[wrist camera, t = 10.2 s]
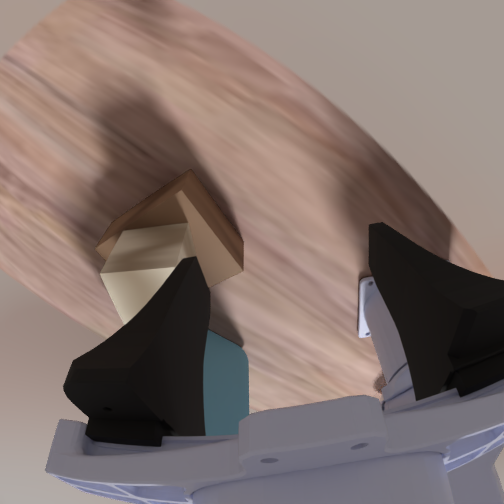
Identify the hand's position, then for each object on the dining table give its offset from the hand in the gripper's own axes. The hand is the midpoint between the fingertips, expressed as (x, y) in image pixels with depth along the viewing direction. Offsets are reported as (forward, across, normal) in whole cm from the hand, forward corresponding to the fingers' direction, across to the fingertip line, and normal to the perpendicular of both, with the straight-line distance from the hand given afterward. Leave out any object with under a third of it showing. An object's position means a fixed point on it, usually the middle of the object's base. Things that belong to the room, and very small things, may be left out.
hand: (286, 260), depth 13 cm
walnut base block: (+11, +8, +3) cm, 14 cm away
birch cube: (+7, +8, +3) cm, 11 cm away
